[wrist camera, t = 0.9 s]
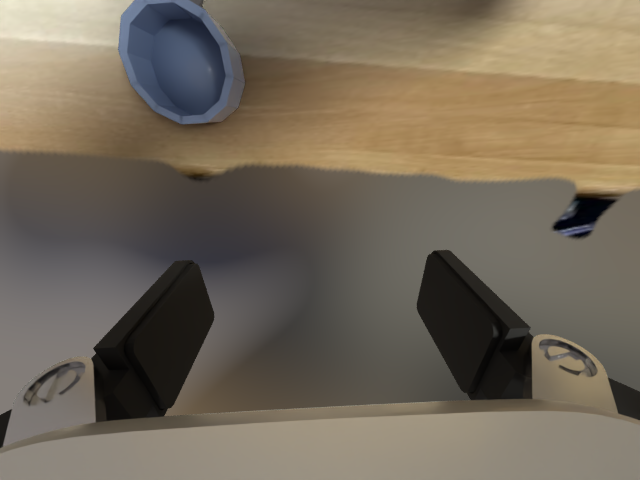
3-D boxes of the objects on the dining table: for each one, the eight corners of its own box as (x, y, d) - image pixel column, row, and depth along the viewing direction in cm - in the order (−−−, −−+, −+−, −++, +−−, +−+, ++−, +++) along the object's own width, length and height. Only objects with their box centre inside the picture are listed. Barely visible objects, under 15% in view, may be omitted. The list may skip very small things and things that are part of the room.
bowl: (157, -11, 25) (125, -38, 21) (255, 47, 28) (245, 34, 23) (143, 96, 30) (114, 92, 25) (229, 137, 32) (216, 140, 28)
